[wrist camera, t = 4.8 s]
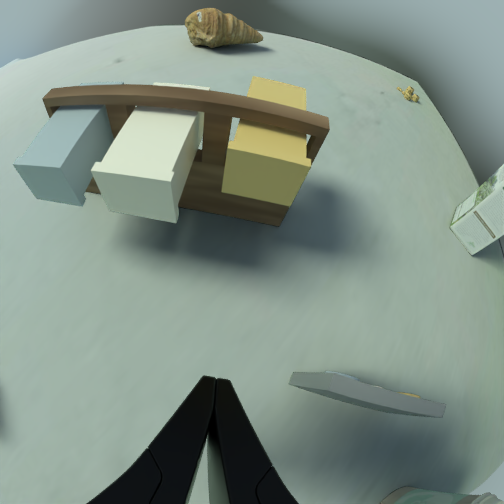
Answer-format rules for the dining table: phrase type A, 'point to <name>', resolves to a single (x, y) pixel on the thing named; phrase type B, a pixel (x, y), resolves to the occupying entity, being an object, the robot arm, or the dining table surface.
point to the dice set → (409, 94)
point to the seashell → (218, 29)
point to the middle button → (150, 161)
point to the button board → (214, 136)
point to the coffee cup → (437, 497)
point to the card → (365, 394)
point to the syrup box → (481, 215)
